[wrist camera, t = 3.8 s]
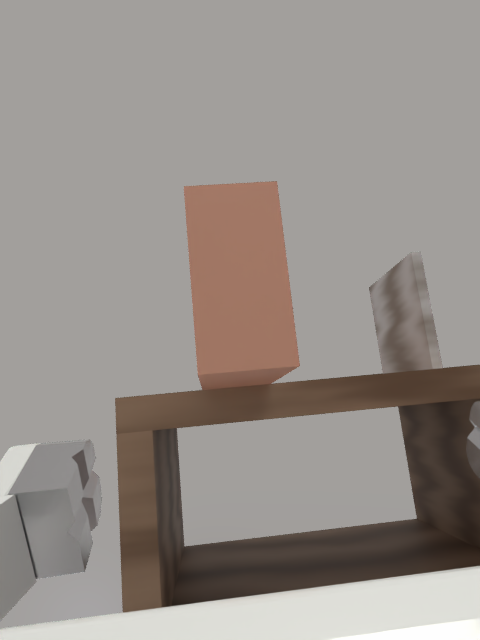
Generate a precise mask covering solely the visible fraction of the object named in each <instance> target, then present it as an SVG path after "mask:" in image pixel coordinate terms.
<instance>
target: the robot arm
mask: <svg viewBox="0 0 480 640" xmlns="http://www.w3.org/2000/svg"><path fill="white" fill-rule="evenodd" d="M469 420H470V421H471V423H472V424H473V426H474V427H475V428H474V429H473V431H472V432H471V433H470V434H469V436H468V437H467V446H466V453H467V457H468V461H469V464H470V466H471V468H472V470H473V471H474V473H475V474H476V475H477V476H478V477H479V478H480V401H477V402H474V404H473V406H472V408H471V411H470V418H469ZM95 459H96V456H95V452H94V447H93V444H92V442H91V441H90V440H77V441H65V442H52V443H41V444H38V443H36V444H27V445H19V446H14V447H11V448H9V450H8V451H7V452H6V454H5V455H4V457H3V458H2V460H1V461H0V621H1V620H2V619H3V618H4V617H5V616H6V614H7V613H8V612H9V611H10V610H11V609H12V608H13V607H14V606H15V604H17V602H18V601H19V600H20V599H21V598H22V597H23V596H24V595H25V594H26V593H27V592H28V590H29V589H30V588H31V587H32V586H33V585H34V584H35V583H36V579H40V578H46V577H53V576H60V575H67V574H73V573H80V572H85V569H86V565H87V562H88V558H89V555H90V551H91V547H92V544H93V542H92V536H91V531H92V530H93V529H94V528H95V527H96V526H97V525H98V521H99V518H100V513H101V501H102V497H101V485H100V479H99V476H98V475H97V474H96V473H94V472H93V471H92V468H93V465H94V462H95ZM0 640H480V566H475V567H467V568H460V569H452V570H444V571H437V572H430V573H422V574H414V575H407V576H399V577H391V578H384V579H376V580H368V581H361V582H353V583H346V584H338V585H330V586H323V587H315V588H307V589H300V590H292V591H284V592H277V593H269V594H262V595H254V596H246V597H239V598H231V599H223V600H216V601H208V602H200V603H193V604H185V605H178V606H170V607H162V608H155V609H147V610H139V611H132V612H124V613H118V614H109V615H102V616H94V617H86V618H78V619H71V620H63V621H55V622H49V623H40V624H33V625H25V626H18V627H10V628H2V629H0Z"/></svg>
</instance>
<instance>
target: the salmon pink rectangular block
mask: <svg viewBox="0 0 480 640" xmlns="http://www.w3.org/2000/svg"><path fill="white" fill-rule="evenodd" d="M184 196H185V209H186V222H187V236H188V248H189V262H190V275H191V289H192V302H193V316H194V328H195V342H196V355H197V368H198V377H199V380H200V383H201V386H202V390H210V389H221V388H232V387H243V386H253V385H264V384H271V383H272V382H274V381H276V380H277V379H279V378H281V377H283V376H284V375H286V374H287V373H289V372H291V371H292V370H294V369H296V368H297V367H299V366H300V363H299V355H298V347H297V339H296V332H295V323H294V315H293V307H292V299H291V291H290V282H289V275H288V266H287V258H286V250H285V242H284V234H283V226H282V218H281V211H280V202H279V194H278V185H277V181H272V182H254V183H236V184H218V185H199V186H184Z"/></svg>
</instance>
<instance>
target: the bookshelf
mask: <svg viewBox="0 0 480 640" xmlns="http://www.w3.org/2000/svg"><path fill="white" fill-rule="evenodd" d="M369 290H370V296H371V303H372V308H373V315H374V321H375V327H376V333H377V340H378V345H379V352H380V358H381V364H382V370H383V374H373V375H362V376H351V377H340V378H330V379H320V380H308V381H297V382H286V383H275V384H264V385H253V386H243V387H232V388H221V389H210V390H199V391H188V392H177V393H166V394H156V395H144V396H134V397H124V398H116V399H115V406H116V430H117V431H116V434H117V462H118V490H119V517H120V546H121V575H122V602H123V613H124V612H132V611H139V610H147V609H155V608H162V607H170V606H178V605H185V604H193V603H200V602H208V601H216V600H223V599H231V598H239V597H246V596H254V595H262V594H269V593H277V592H284V591H292V590H300V589H307V588H315V587H323V586H330V585H338V584H346V583H353V582H361V581H368V580H376V579H384V578H391V577H399V576H407V575H414V574H422V573H430V572H437V571H444V570H452V569H460V568H467V567H475V566H480V478H479V477H478V476H477V475H476V474H475V473H474V471H473V470H472V468H471V466H470V464H469V461H468V457H467V453H466V446H467V437H468V436H469V434H470V433H471V432H472V431H473V429H474V428H475V427H474V426H473V424H472V423H471V421H470V420H469V418H470V411H471V408H472V406H473V404H474V402H477V401H480V365H471V366H460V367H449V368H443V366H442V361H441V356H440V350H439V346H438V340H437V335H436V330H435V325H434V320H433V314H432V309H431V304H430V298H429V293H428V288H427V283H426V278H425V273H424V267H423V262H422V257H421V252H411V253H410V254H408V255H407V256H406V257H405V258H404V259H403V260H402V261H400V262H399V263H398V264H397V265H395V266H394V267H393V268H392V269H391V270H390V271H388V272H387V273H386V274H385V275H384V276H383V277H381V278H380V279H379V280H378V281H376V282H375V283H374V284H373V285H372V286H371V287H369ZM396 406H398V408H399V414H400V420H401V426H402V432H403V438H404V444H405V450H406V455H407V461H408V467H409V473H410V480H411V485H412V492H413V497H414V503H415V509H416V515H417V519H412V520H403V521H395V522H386V523H378V524H370V525H362V526H353V527H345V528H336V529H328V530H320V531H311V532H303V533H295V534H286V535H278V536H269V537H261V538H252V539H244V540H236V541H227V542H219V543H211V544H202V545H194V546H186V547H184V535H183V519H182V503H181V489H180V488H181V487H180V473H179V457H178V440H177V428H183V427H192V426H203V425H213V424H223V423H233V422H243V421H253V420H264V419H274V418H284V417H295V416H304V415H314V414H325V413H335V412H346V411H355V410H365V409H376V408H386V407H396Z"/></svg>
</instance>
